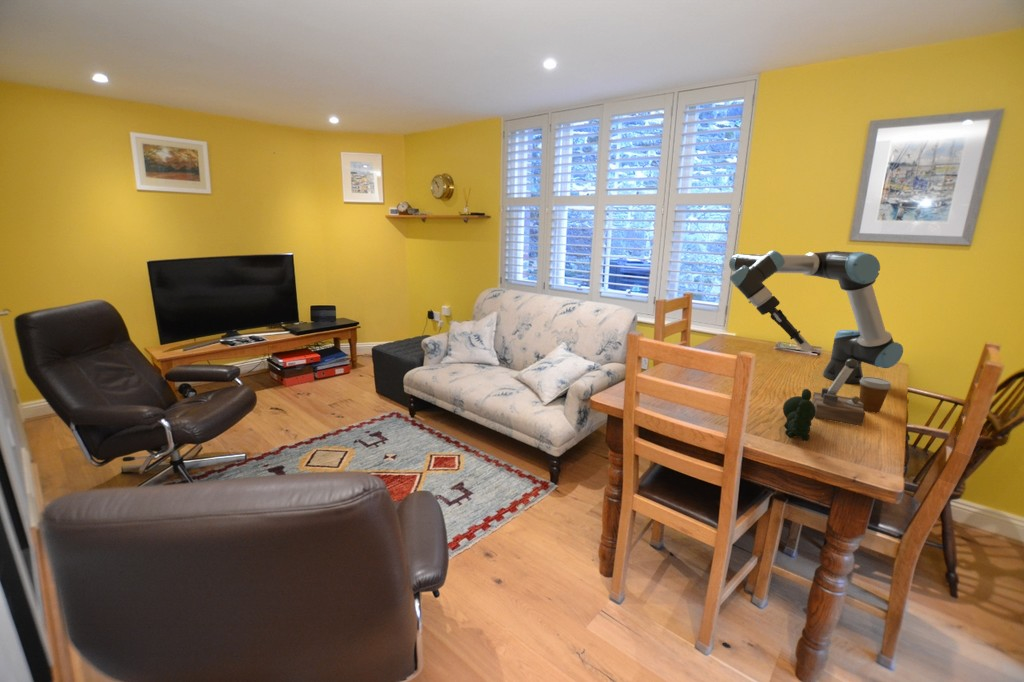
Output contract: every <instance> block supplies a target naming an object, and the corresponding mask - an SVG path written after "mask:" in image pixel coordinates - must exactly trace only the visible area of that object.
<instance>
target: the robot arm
mask: <svg viewBox="0 0 1024 682" xmlns="http://www.w3.org/2000/svg"><path fill="white" fill-rule="evenodd" d="M728 267H729V269H730V270H731V271H732V272H733V273H732V274H731V275H730V277H729V279H730V281H731V283H732V284H733V285H734V287H735V288H737V289H738V290H739V292H740V293H741V294H742V295H743V296H744V297H745V298H746V299H747V300H748V303H749V304H752V306H754V307H756V310H757V312H759V313H760V314H761V315H762V316H764V315H766V314H770V318H771V319H772V320H773V321H774V322H775V323H776V324H777V325H779V326H780V328H782V329H783V330H784V332H786V334H787V335H788V336H789V338H790V340H793V341H794V342H795V343H796V344H797V345H798V346H799V347H800V348H801V349H802V350H803V351H804V352H808V351H810V350H811V349H813V347H812V345H811V344H810V343H809V342H808V341H807V340H806V339H805V338H804V337H803V336H802V334H800V333H801V330H798V329H797V328H796V327H794V325H793V324H792V323H791V322H790V321H789V320H788V318H787V316H786V315H785V314H784V313H783V311H782V309H777V307H778V306H779V305H780V304H781V302H780V301H779V299H778V298H777V297H776V296H775V295H773V293H772V291H771V290H770V289H769V288H768V287H767V286H765V284H764V283H763V282H765V281H767V279H769V278H770V277H771V276H772V275H774V274H803V275H804V276H809V277H811V276H813V277H818V278H823V279H827V280H828V279H829V280H834V281H838V284H839V286H840V289H841V290H842V291H845V292H846V294H847V297H848V300H849V301H848V302H849V304H850V307H851V311H852V314H853V316H854V317H853V318H854V319H855V324H856V327H857V329H840V330H837V331H836V332H835V336H834V338H833V339H834V340H833V344H832V345H833V346H832V350H831V354H830V355H831V356H830V360H829V362H828V363H827V364H826V366H825V368H824V369H823V373H822V376H823V377H824V378H826V379H828V378H829V380H831V379H832V381H835V379H836V378H837V376H838V375H839V373H840V372H841V370H842V369H843V368H844V366H845V362H846V361H847V360H848V359H855V360H857V362H858V367H857V368H855V369H854V370H853V371H852V373H851V374H850V375H849V377H848V378H847V380H846V381H845V383H846V384H860V380H861V378H862V377H864V373H863V369H862V364H863V363H865V364H868V365H871V366H873V367H876V368H881V369H889V368H893V367H894V366H895V365H897V364H898V362H900V360H901V359H902V357H903V353H904V347H903V345H902V344H901V343H900V342H897V341H894V339H893V336H892V333H891V332H889V331H888V330H886V328H885V325H884V322H883V317H882V314H881V311H880V307H879V303H878V301H877V297H876V293H875V290H874V287H873V285H874V284H875V283H876V280H877V278H878V277H879V275H880V270H881V264H880V261H879V259H878V258H877V257H876V256H875V255H874V254H871V253H869V252H868V253H867V252H863V251H857V252H853V251H838V250H835V251H831V250H830V251H822V252H808V253H805V254H781V253H780V252H778V251H776V250H770V251H768V252H767V253H765V254H753V253H752V254H749V253H748V254H746V253H736V254H734V255H732V256H731V258H730V260H729V263H728ZM845 383H844V384H845Z"/></svg>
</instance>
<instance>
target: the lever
mask: <svg viewBox="0 0 1024 682" xmlns="http://www.w3.org/2000/svg"><path fill="white" fill-rule="evenodd" d="M857 367H858V362H857V360H855V359H848V360H847V361H846V362H845V366H844V368H843V369H842V370H841V372H840V373H839V375H838V376H837V378H836V379H835V380H833V382H832V384H831V385H830V386H829V388H828V391H827V393H826V394H832V395H837V394H838V393H839V391H840V389H841V388H842V387H843V386H844V384H845V381H846V380H847V378H848V377H849V375H850V374H851V373H852V371H853V370H854V369H855V368H857Z"/></svg>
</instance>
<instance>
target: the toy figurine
mask: <svg viewBox="0 0 1024 682" xmlns="http://www.w3.org/2000/svg"><path fill="white" fill-rule="evenodd" d="M811 399H812V392H811V389H808V388H805V389H802V393H801V395H800V396H799V395H798V396H795V395H794V396H792V397H789V398H788V399H787V400H785V401H784V404H783V407H782V411H783V415H784V417H785V418H786V422H785V423H784V424H783V425H784V426H783V427H784V429H786V430H785V431H784V434H785V435H787V437H788V438H790V439H794V438H795V437H796V438H801V440H802V441H803V442H808V441H809V440H810V438H811V437H810V432H811V426H812V425H813V424H812V421H813V420H814V418H815V413H816V410H815V406H814V404H813V403H812V401H811Z"/></svg>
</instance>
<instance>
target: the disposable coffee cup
mask: <svg viewBox="0 0 1024 682" xmlns="http://www.w3.org/2000/svg"><path fill="white" fill-rule="evenodd" d="M859 386H860V389H859V398H860V401H859V402H861V403H863V404H864V405H863V407H862V408H863V410H864V412H866V411H868V412H867V413H871V412H875V413H874V414H877V412H879V413H880V411H881V408H882V406H883V404H884V402H885V400H886V397H887V395H888V393H889V391H890V390H891V388H892V385H891V382H890V381H889V380H887V379H884V378H880V377H874V376H863V377H862V378H861V380H860V383H859Z"/></svg>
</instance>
